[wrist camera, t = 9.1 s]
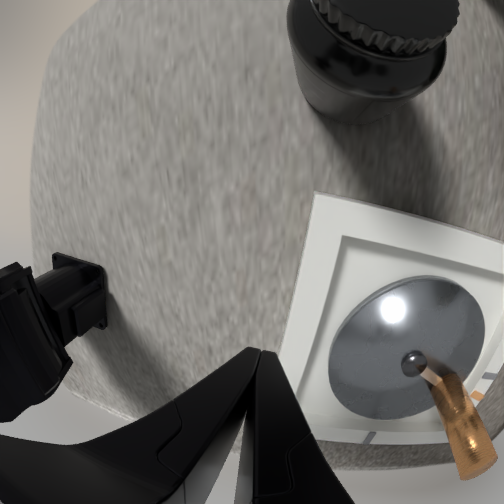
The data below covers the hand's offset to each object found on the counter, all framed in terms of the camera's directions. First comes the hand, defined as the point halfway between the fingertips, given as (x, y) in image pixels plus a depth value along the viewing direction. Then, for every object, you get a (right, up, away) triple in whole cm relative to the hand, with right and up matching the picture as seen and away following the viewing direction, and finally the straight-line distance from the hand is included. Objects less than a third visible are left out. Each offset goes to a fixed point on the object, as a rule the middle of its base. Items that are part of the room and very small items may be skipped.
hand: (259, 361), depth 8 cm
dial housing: (+12, -4, +12) cm, 18 cm away
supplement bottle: (+6, +14, +8) cm, 18 cm away
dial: (+12, -5, +11) cm, 17 cm away
